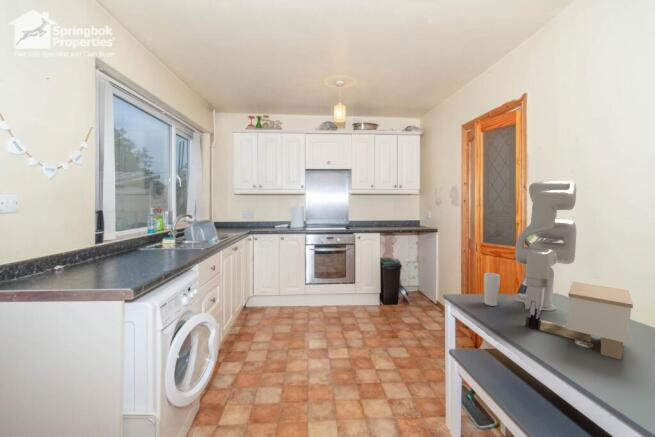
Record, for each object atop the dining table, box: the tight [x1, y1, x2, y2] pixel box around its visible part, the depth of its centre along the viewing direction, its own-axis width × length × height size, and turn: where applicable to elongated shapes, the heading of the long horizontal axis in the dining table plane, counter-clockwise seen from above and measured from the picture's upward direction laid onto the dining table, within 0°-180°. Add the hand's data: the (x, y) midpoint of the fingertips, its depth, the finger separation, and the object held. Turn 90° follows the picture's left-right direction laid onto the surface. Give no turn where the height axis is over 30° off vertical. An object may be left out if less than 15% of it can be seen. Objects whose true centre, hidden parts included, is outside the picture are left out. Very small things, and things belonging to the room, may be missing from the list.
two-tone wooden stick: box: [524, 315, 592, 343], centre depth 115 cm, size 20×2×4 cm, turn 47°
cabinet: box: [566, 281, 634, 360], centre depth 106 cm, size 16×21×19 cm
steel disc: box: [574, 339, 594, 349], centre depth 107 cm, size 5×5×1 cm
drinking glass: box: [483, 272, 501, 307], centre depth 146 cm, size 7×7×15 cm
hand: (533, 326), depth 120 cm, fingers closed on two-tone wooden stick, 1 cm apart
